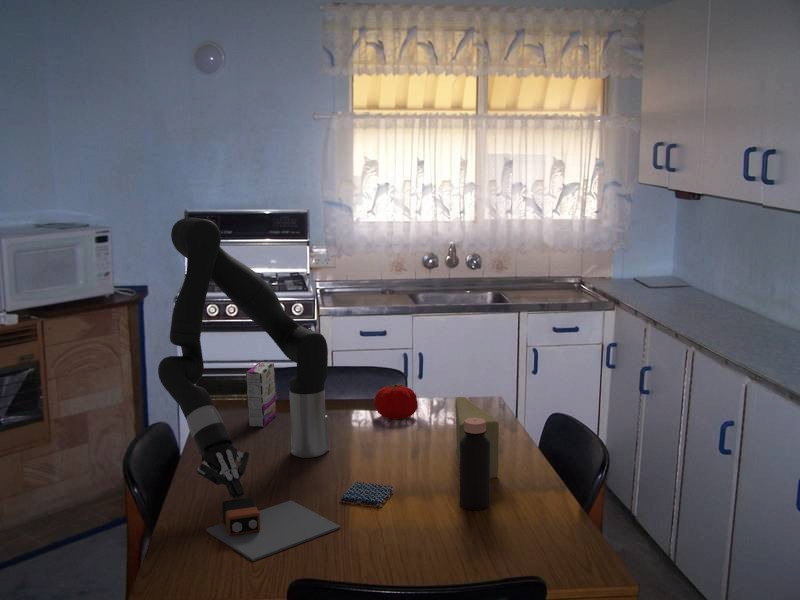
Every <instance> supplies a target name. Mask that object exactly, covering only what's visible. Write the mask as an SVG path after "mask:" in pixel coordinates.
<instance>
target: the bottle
mask: <svg viewBox="0 0 800 600" xmlns="http://www.w3.org/2000/svg"><path fill="white" fill-rule="evenodd" d="M464 432H465V436H464V437H463V438H462V440H461V441H460V462H459V505H460V506H461V507H462V508H463V509H465V510H470V511H482V510H486V509H487V508H489V506H490V498H491V497H490V494H491V493H490V488H491V487H490V485H491V479H490V442H489V440H488V439H487V438H486V437H485V433H486V420H484V419H482V418H476V417H475V418H467V419H465V420H464Z"/></svg>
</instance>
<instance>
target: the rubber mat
mask: <svg viewBox="0 0 800 600" xmlns="http://www.w3.org/2000/svg"><path fill="white" fill-rule="evenodd" d="M258 511H259V514H260V531H259V532H253V533H246V534H240V535H233V536H229V535H228V532H227V529H226V526H225V523H224V522H223V523H220V524H217V525H214V526H210V527H207V528H206V529H205V530H206V532H207V533H208V534H209V535H211V536H213V537H215V538H216V539H218V540H219V541H220V542H222V543H224V544H225V545H227V546H228V547H230V548H231V549H233V550H235V551H236V552H238V553H239V554H241V555H242V556H244V557H245V558H247V559H248V560H249V561H251V562H255V561H258V560H260V559H263V558H265V557H269V556H272V555H274V554H277V553H279V552H282V551H285V550H287V549H290V548H292V547H295V546H299V545H300V544H303V543H305V542H308V541H311V540H314V539H315V538H316V539H317V538H319V537H321V536H324V535H327V534H329V533H332V532H334V531H337V530H340V529H341V525H339V524H337V523H335V522H333V521H331V520H330V519H328V518H326V517H323V516H321V514H318V513H316V512H314V511H313V510H310V509H309V508H307V507H305V506H303V505H301V504H299V503H298V502H295V501H293V500H292V499H290V500H289V501H284V502H282V503H279V504H275V505H273V506H269V507H266V508H264V509H261V510H258Z"/></svg>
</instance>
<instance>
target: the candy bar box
mask: <svg viewBox="0 0 800 600" xmlns="http://www.w3.org/2000/svg"><path fill="white" fill-rule="evenodd" d="M245 378H246V394H247V395H246V396H247V409H248V410H247V411H248V412H247V413H248V415H247V416H248V426H249V427H252V428H255V427H256V428H265V427H266V426H267V425H268V424H269V423H270V422H271V421H272V420H273V419H274V418H275V417H276V416H278V415H277V399H276V398H277V397H276V379H275V378H276V377H275V363H274V362H265V361H259V362H258V363H257V364H255V365H253V367H251V368H250V369H249V370H247V371H246V372H245Z"/></svg>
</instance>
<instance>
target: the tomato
mask: <svg viewBox="0 0 800 600" xmlns="http://www.w3.org/2000/svg"><path fill="white" fill-rule="evenodd" d="M373 401H374V408H375V410H376V412H378V414H379V415H380V416H381V417H382V418H386V419H389V420H401V419H408V418H409V419H410V417H412V416H413V415H414V414H415V413H416V412H417V409H418V407H419V406H418V405H419V403H418V398H417V393H415V391H414V390H413V389H412V388H410V387H407V386H405V385H403V384H399V383H397V384H394V383H393V384H392V385H386V386H383V387H382V388H380V389H379V390H378V391H377V392H376V394H375V396H374V399H373Z"/></svg>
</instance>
